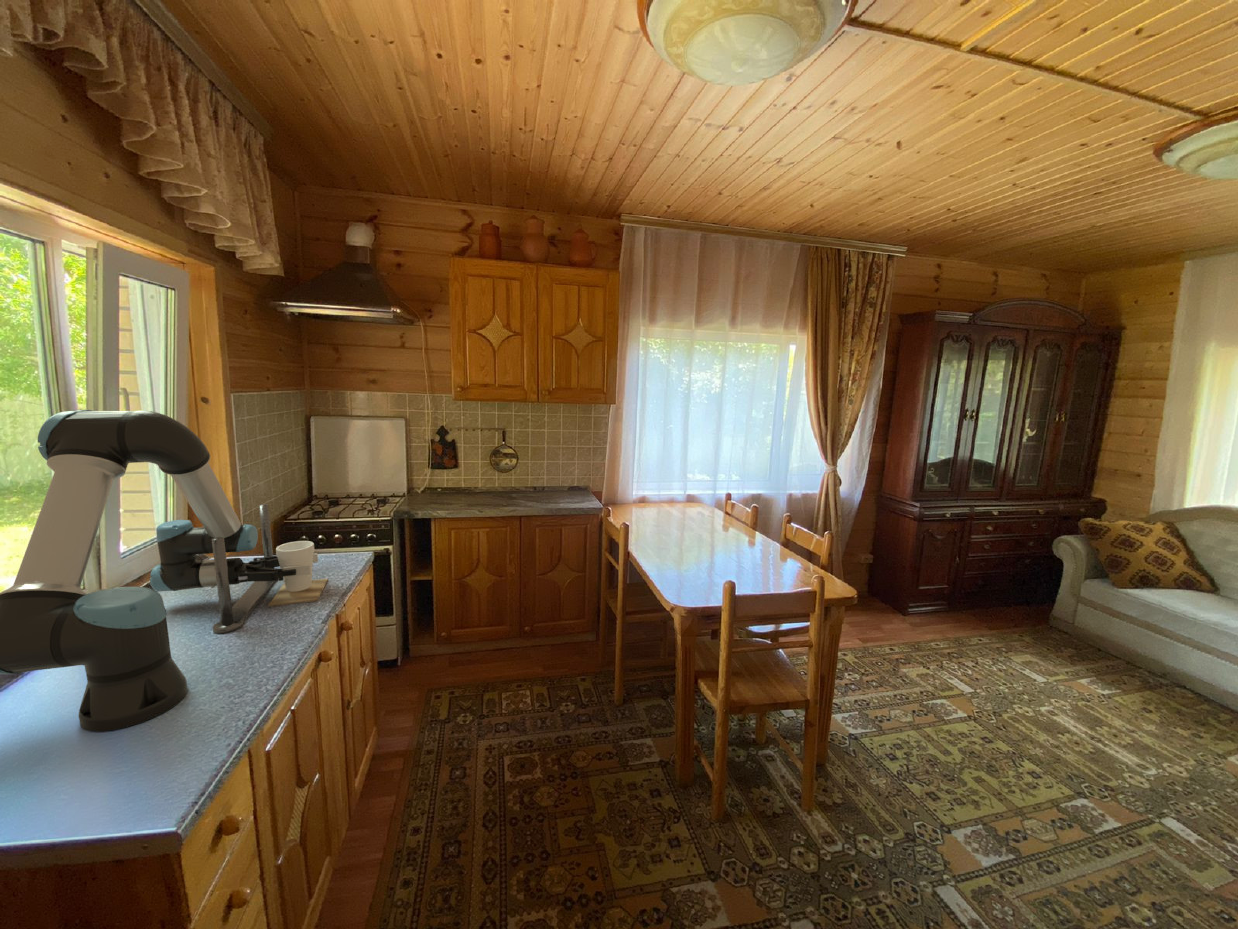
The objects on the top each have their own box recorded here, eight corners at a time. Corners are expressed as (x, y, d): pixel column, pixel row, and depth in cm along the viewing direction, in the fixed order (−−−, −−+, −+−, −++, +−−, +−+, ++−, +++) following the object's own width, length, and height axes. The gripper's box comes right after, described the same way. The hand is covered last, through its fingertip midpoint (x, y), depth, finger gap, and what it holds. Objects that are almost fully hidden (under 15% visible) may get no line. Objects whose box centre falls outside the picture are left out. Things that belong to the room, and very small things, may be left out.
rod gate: (237, 631, 125) (227, 541, 121) (209, 635, 123) (197, 543, 119) (283, 572, 164) (277, 502, 160) (262, 574, 161) (255, 503, 157)
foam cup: (313, 591, 144) (309, 549, 142) (276, 595, 141) (272, 552, 139) (319, 579, 153) (316, 539, 151) (285, 583, 150) (281, 542, 148)
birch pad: (317, 600, 143) (317, 599, 143) (268, 606, 139) (268, 604, 139) (328, 580, 158) (327, 578, 158) (284, 584, 154) (284, 583, 153)
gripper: (239, 570, 150) (322, 562, 158) (208, 600, 130) (306, 589, 138) (236, 547, 149) (320, 540, 157) (205, 574, 129) (303, 564, 137)
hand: (313, 563), depth 147 cm, fingers closed on foam cup, 9 cm apart
